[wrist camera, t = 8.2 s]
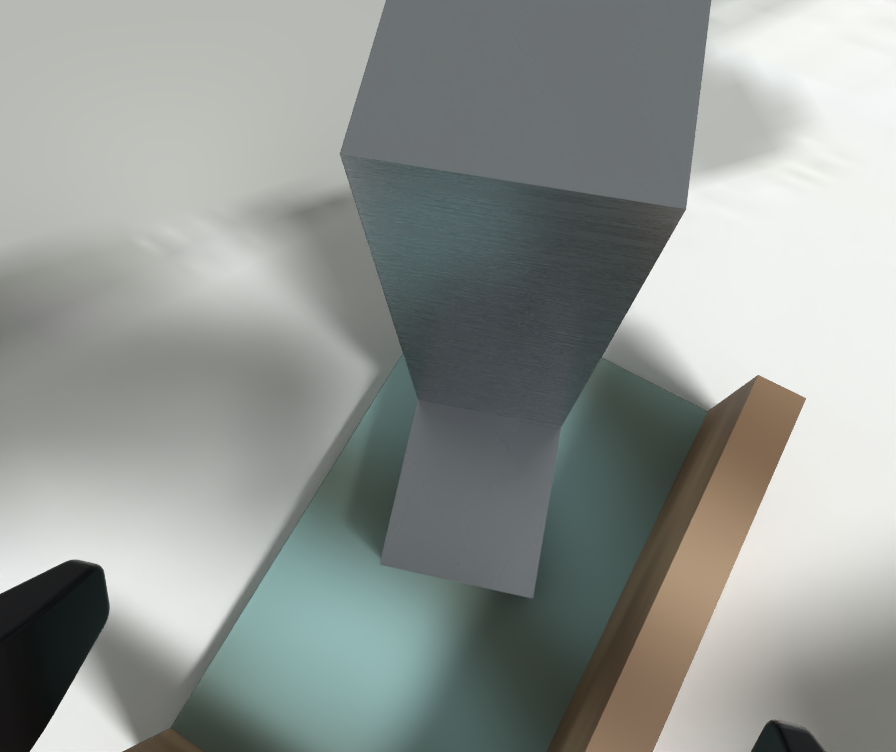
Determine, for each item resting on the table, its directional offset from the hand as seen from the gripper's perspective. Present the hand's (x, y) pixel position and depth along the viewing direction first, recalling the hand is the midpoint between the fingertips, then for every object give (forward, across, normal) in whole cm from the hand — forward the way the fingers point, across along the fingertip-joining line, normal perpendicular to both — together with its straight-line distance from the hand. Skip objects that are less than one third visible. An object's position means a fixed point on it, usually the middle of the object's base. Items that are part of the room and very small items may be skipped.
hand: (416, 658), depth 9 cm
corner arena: (+8, 0, +6) cm, 10 cm away
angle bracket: (+10, 0, +3) cm, 11 cm away
